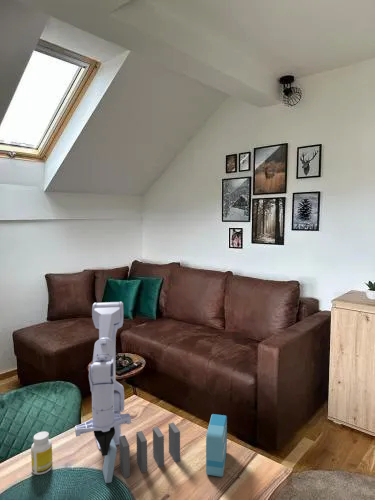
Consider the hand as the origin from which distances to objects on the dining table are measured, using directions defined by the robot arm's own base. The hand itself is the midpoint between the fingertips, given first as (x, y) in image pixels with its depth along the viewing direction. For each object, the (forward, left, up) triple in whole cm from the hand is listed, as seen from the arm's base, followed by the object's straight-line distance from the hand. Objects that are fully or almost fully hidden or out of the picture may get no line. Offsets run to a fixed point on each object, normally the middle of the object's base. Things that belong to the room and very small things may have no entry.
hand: (104, 453), depth 93 cm
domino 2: (0, +10, -7) cm, 13 cm away
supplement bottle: (-11, -16, -7) cm, 20 cm away
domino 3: (0, +15, -7) cm, 17 cm away
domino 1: (0, +5, -7) cm, 9 cm away
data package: (+8, +30, -7) cm, 32 cm away
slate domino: (0, 0, -7) cm, 7 cm away
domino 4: (0, +20, -7) cm, 22 cm away
